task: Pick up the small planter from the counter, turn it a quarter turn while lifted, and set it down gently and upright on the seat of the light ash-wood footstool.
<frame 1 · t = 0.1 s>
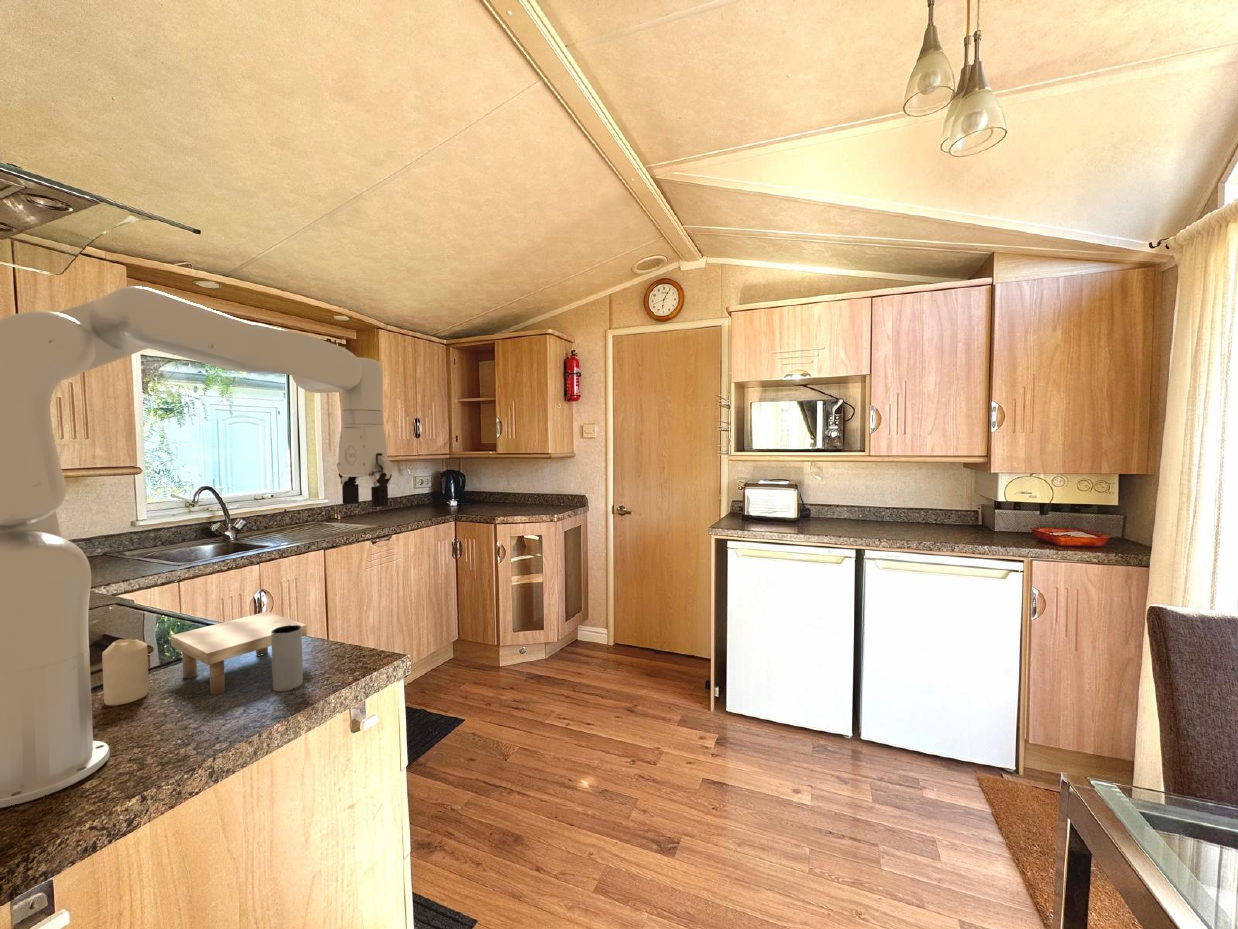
hand: (365, 504, 103), 31 cm above the worktop, tool pointing down, fingers open, 9 cm apart
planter: (288, 686, 91), on the worktop
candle: (127, 699, 87), on the worktop
stool: (241, 671, 97), on the worktop
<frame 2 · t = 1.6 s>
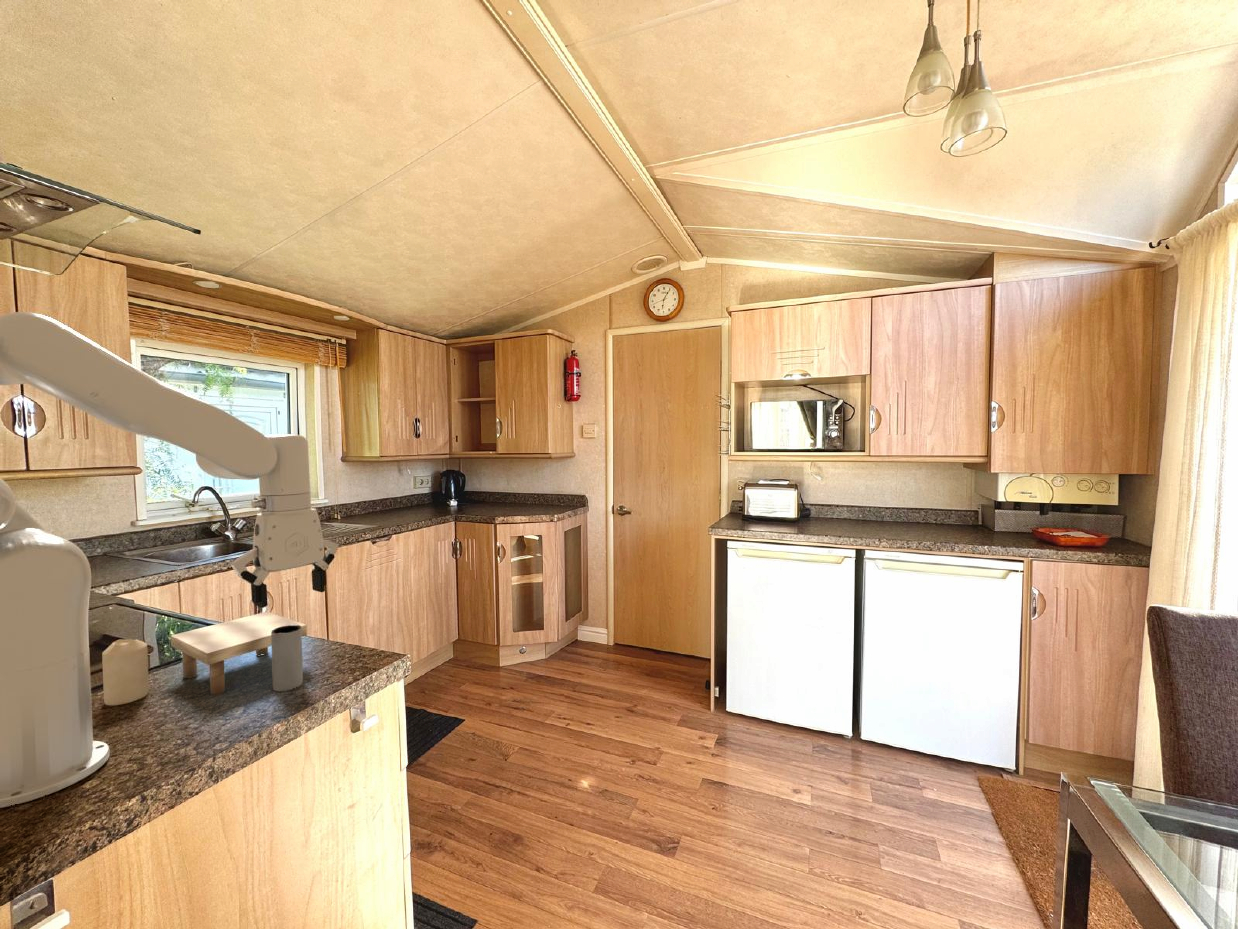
hand: (291, 598, 91), 16 cm above the worktop, tool pointing down, fingers open, 9 cm apart
nothing on the worktop moved.
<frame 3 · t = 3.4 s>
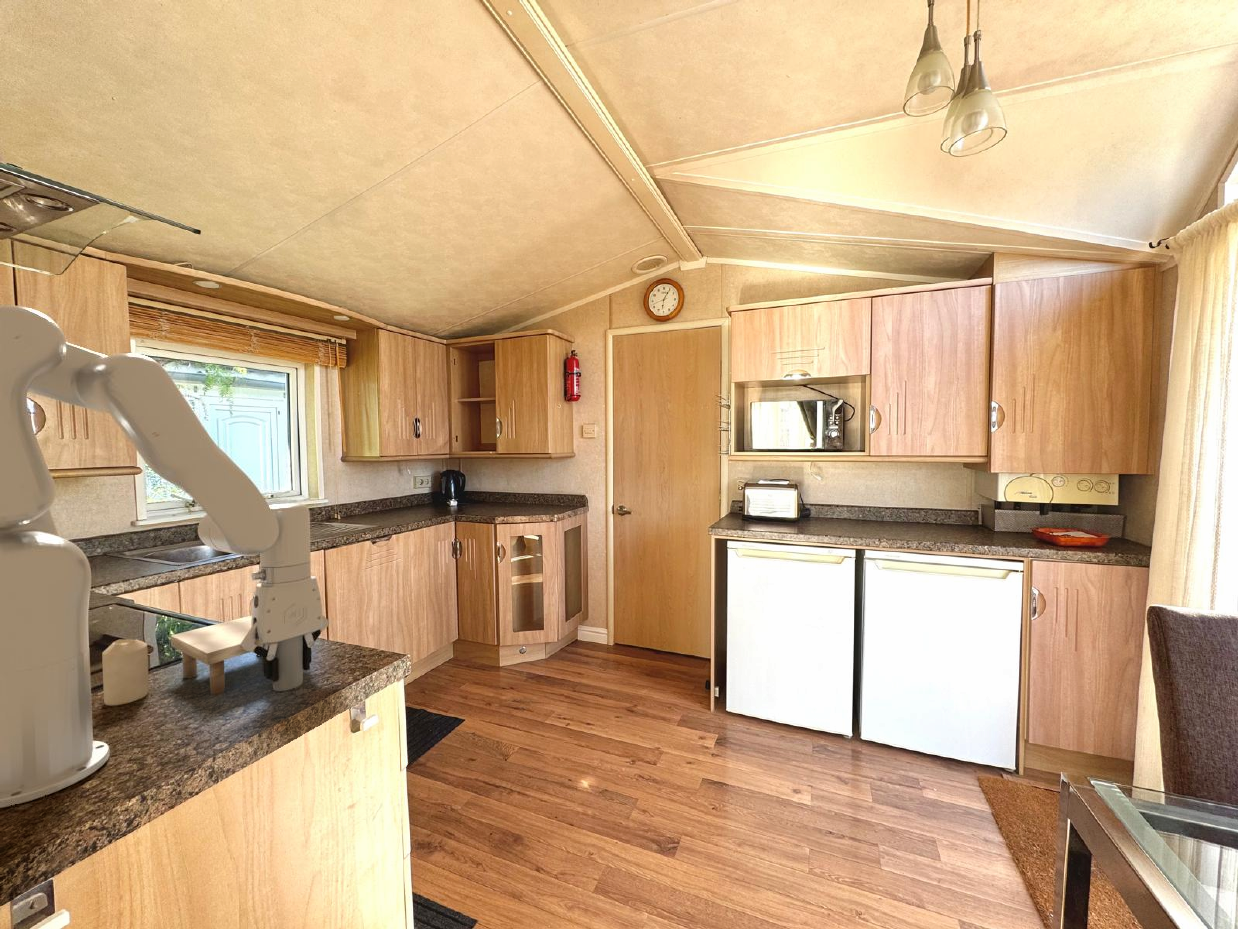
hand: (288, 673, 91), 2 cm above the worktop, tool pointing down, fingers closed on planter, 4 cm apart
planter: (288, 686, 91), on the worktop, touching gripper
everything else where it was.
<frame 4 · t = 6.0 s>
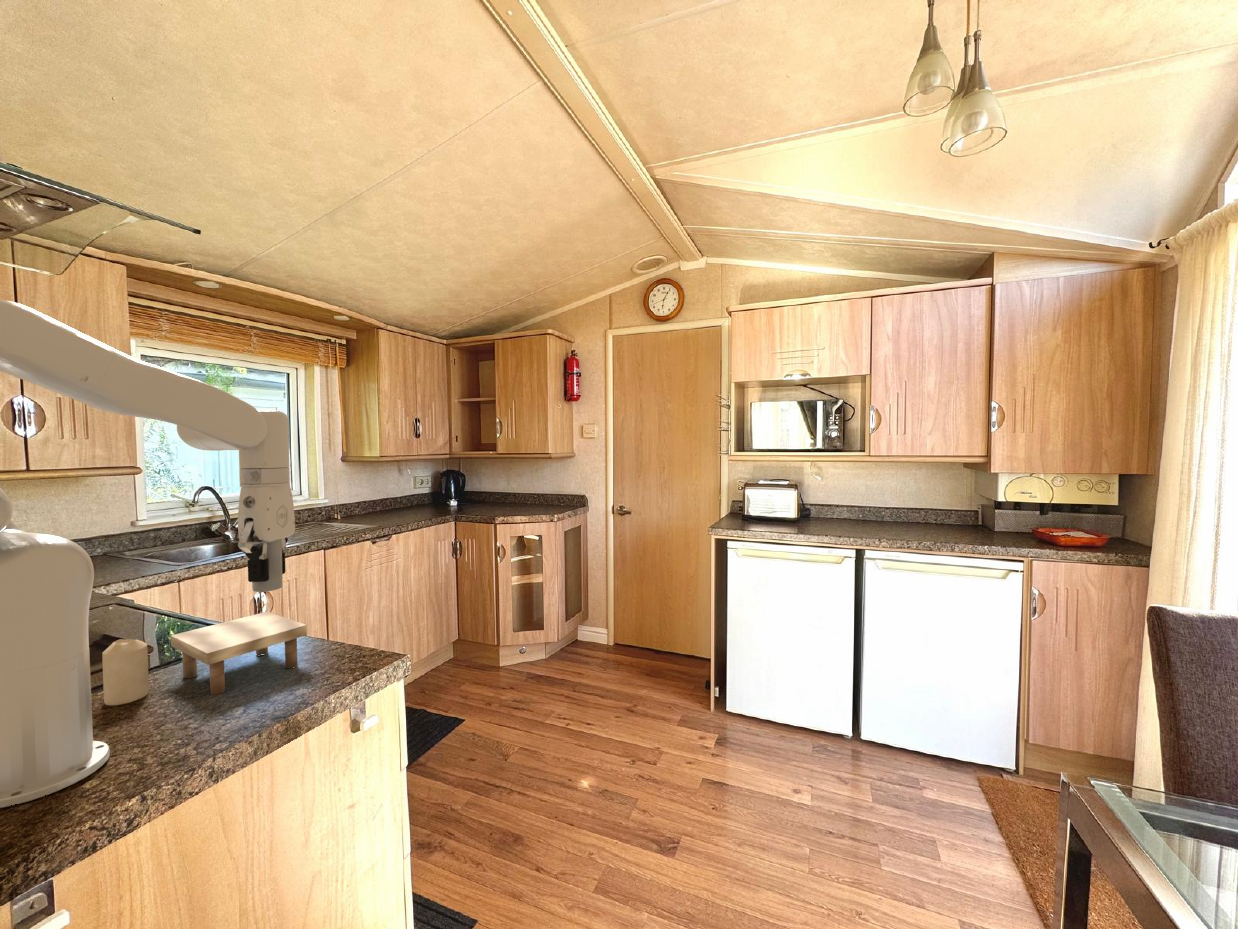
hand: (267, 576, 93), 19 cm above the worktop, tool pointing down, fingers closed on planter, 4 cm apart
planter: (267, 590, 93), point 17 cm above the worktop, touching gripper
everything else where it was.
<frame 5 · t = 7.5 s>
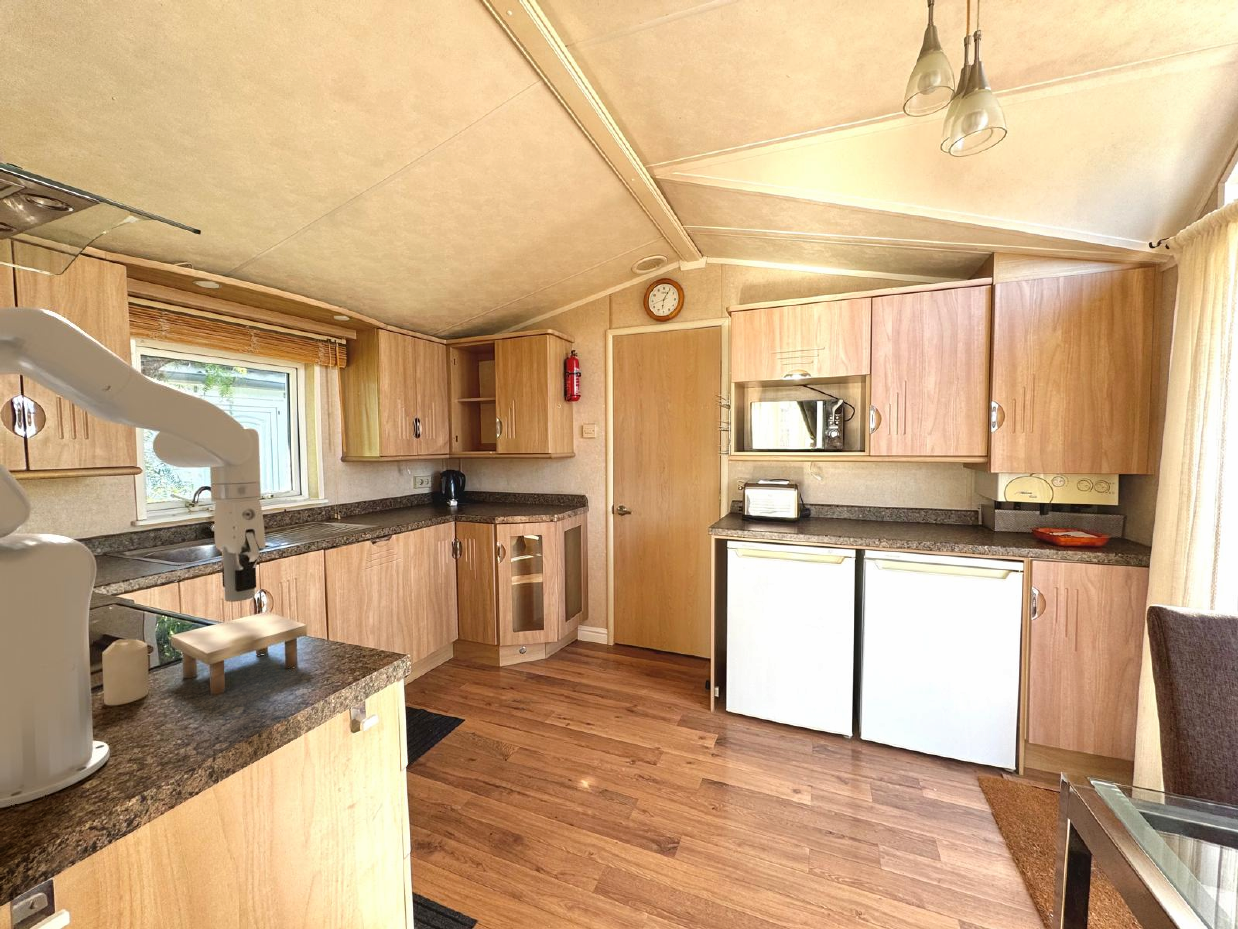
hand: (239, 586, 96), 16 cm above the worktop, tool pointing down, fingers closed on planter, 4 cm apart
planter: (240, 599, 96), point 14 cm above the worktop, touching gripper
everything else where it was.
when the fingers open (11 cm above the worktop, at t = 8.9 s): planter stays where it is, resting on stool.
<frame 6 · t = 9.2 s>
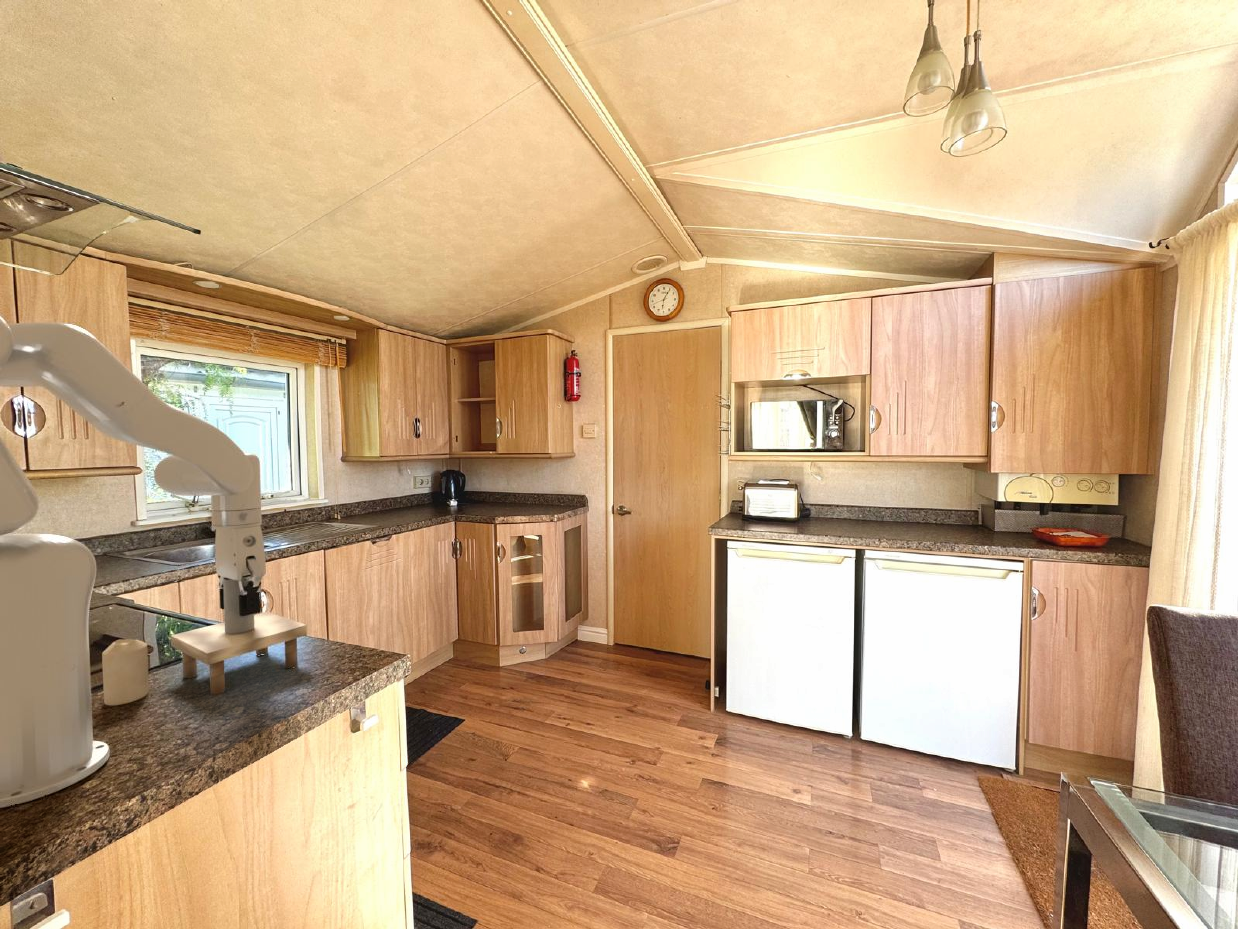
hand: (239, 610, 96), 12 cm above the worktop, tool pointing down, fingers open, 7 cm apart
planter: (239, 631, 96), point 8 cm above the worktop, touching stool
everything else where it was.
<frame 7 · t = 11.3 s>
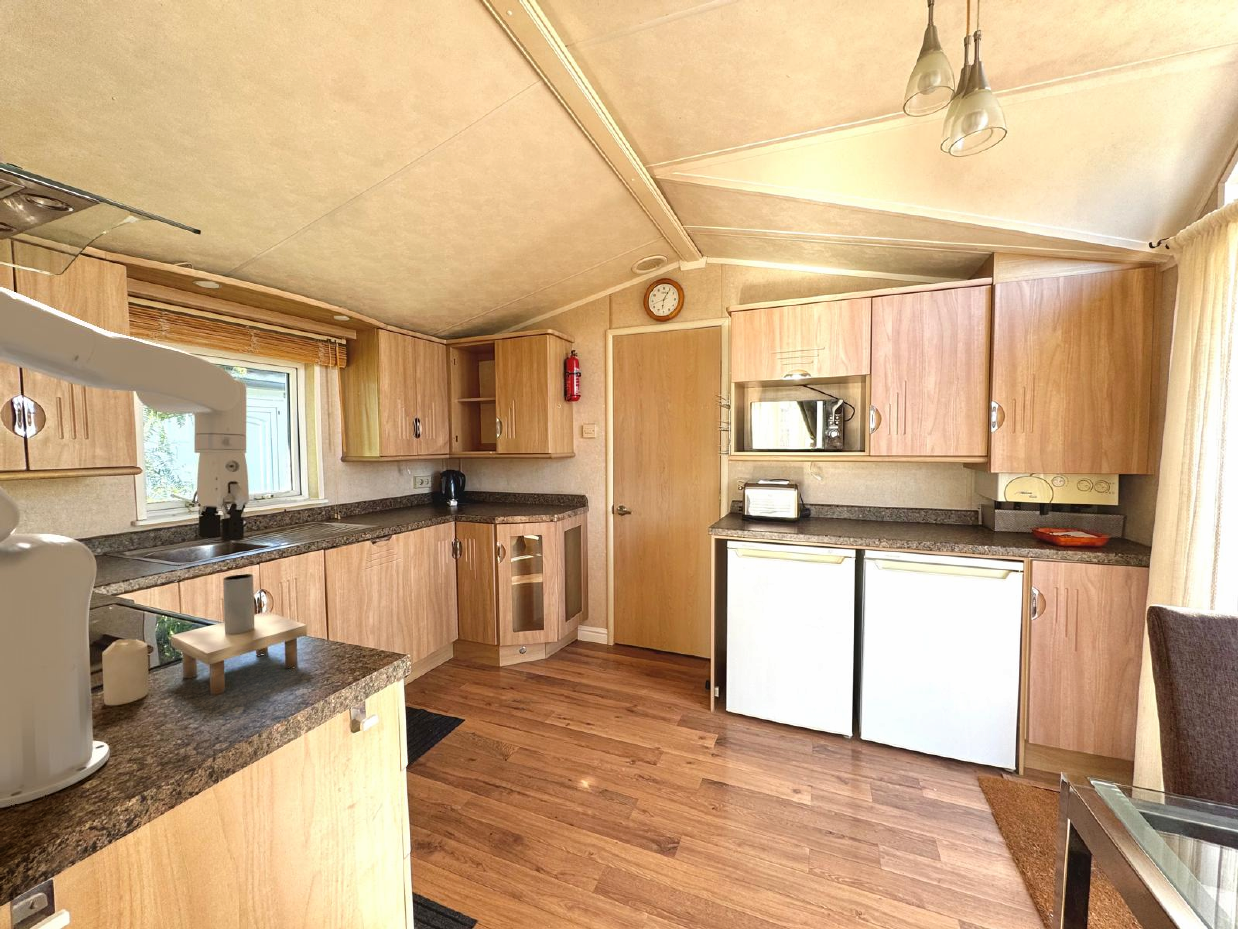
hand: (220, 538, 93), 26 cm above the worktop, tool pointing down, fingers open, 9 cm apart
nothing on the worktop moved.
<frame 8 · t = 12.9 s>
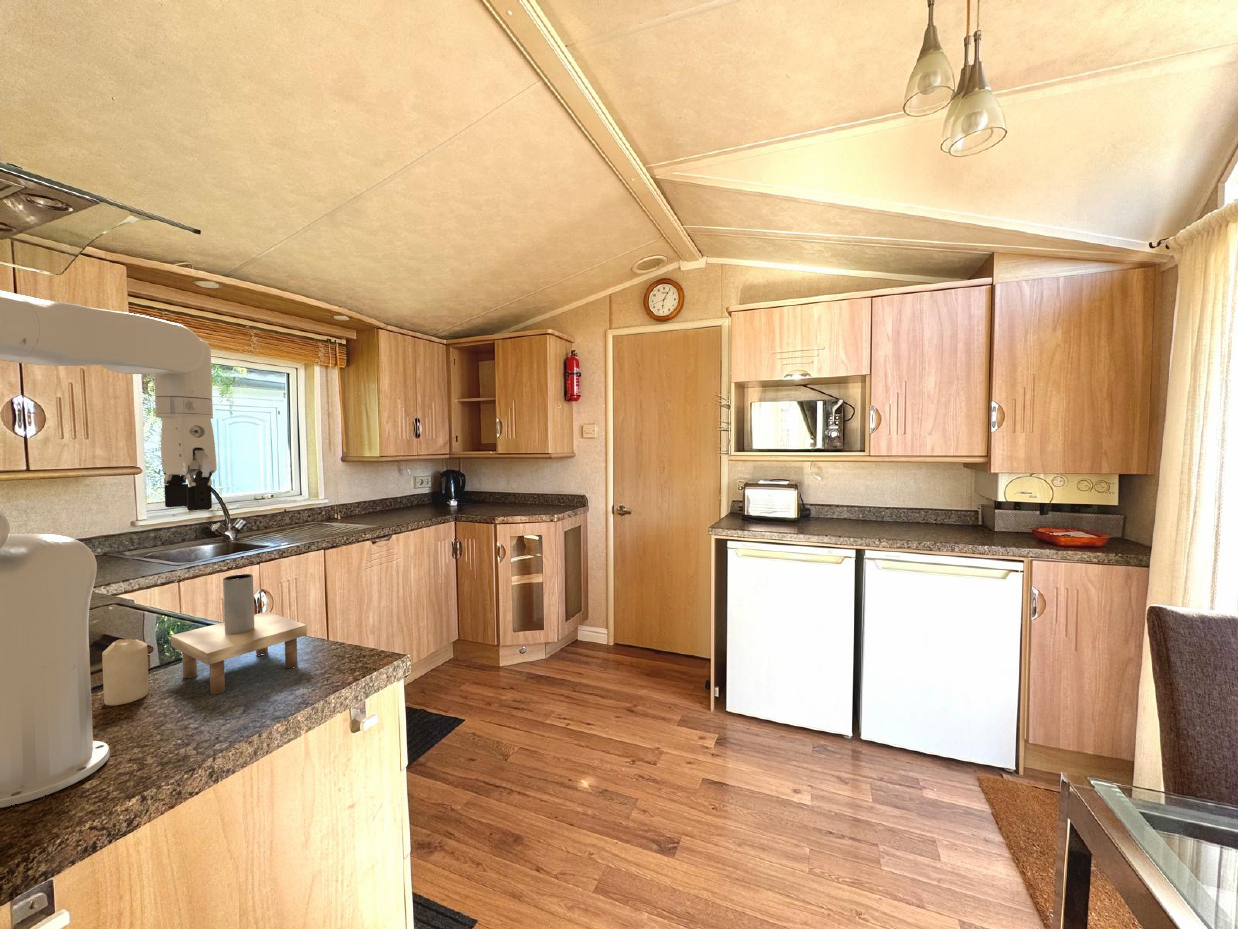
hand: (188, 508, 88), 32 cm above the worktop, tool pointing down, fingers open, 9 cm apart
nothing on the worktop moved.
at the end: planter inside the target area on the stool (0.1 cm from its centre), point 7.8 cm above the stool's base; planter tilted 0°; the gripper is holding nothing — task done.
